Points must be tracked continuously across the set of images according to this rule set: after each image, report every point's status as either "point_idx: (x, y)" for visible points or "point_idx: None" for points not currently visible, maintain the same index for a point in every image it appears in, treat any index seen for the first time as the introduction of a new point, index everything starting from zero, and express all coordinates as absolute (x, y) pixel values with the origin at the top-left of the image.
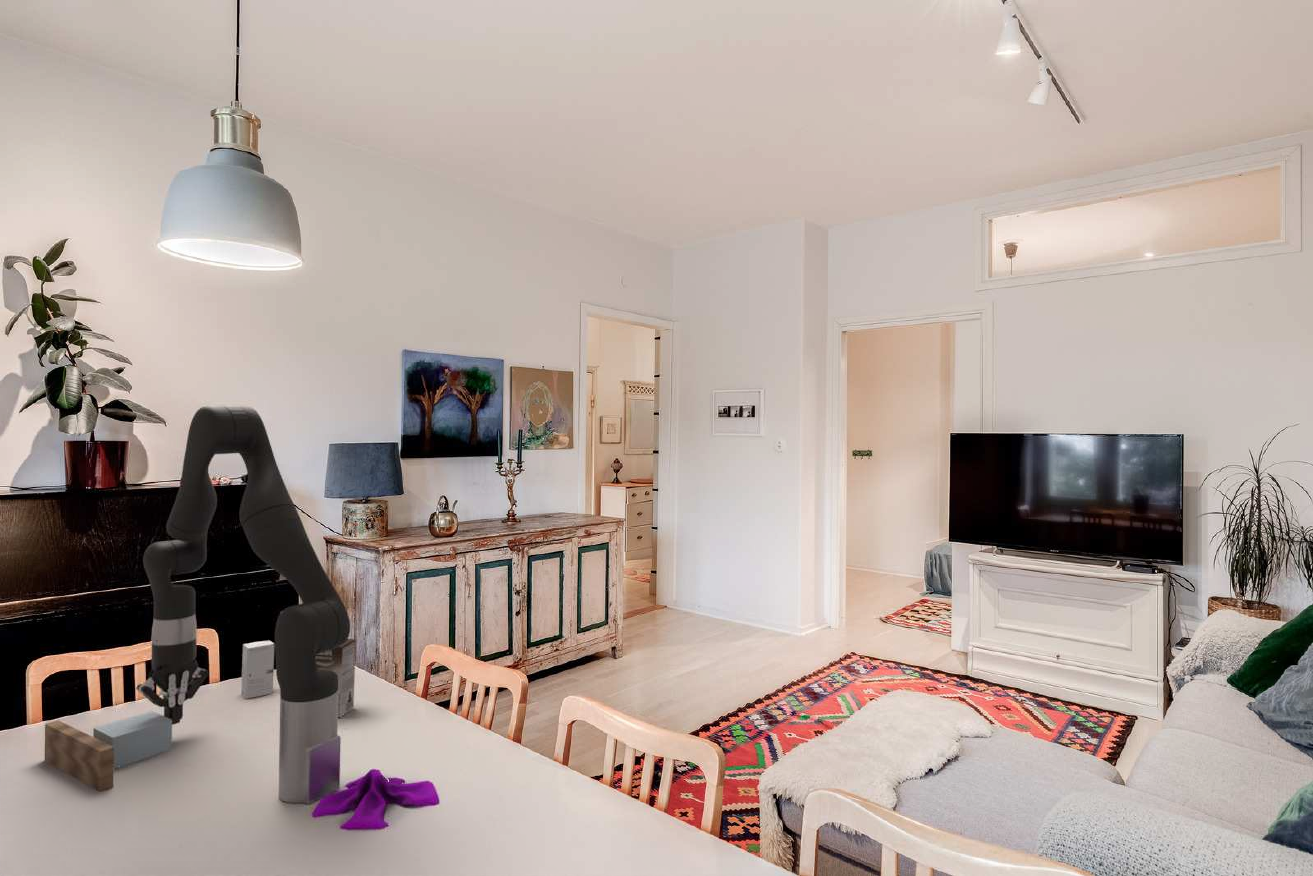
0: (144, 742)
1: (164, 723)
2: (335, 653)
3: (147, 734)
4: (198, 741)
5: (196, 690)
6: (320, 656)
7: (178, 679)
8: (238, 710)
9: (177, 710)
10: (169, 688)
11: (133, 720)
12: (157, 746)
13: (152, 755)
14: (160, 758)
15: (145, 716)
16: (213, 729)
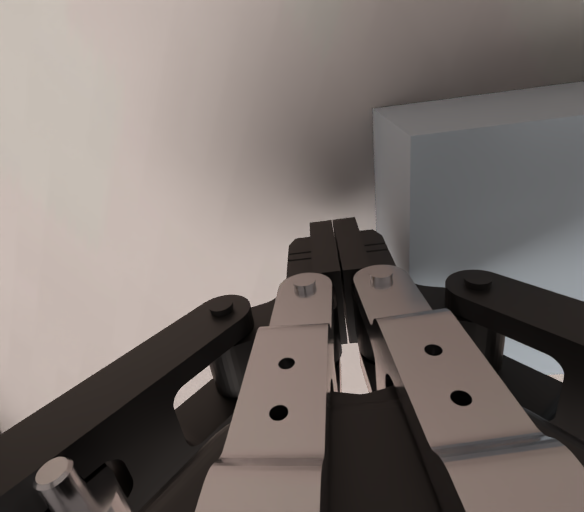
0: (554, 98)
1: (465, 125)
2: None
3: (565, 105)
4: (246, 108)
5: (159, 338)
6: None
7: (351, 498)
8: (28, 337)
9: (329, 254)
10: (489, 373)
11: None
12: (456, 102)
13: (466, 96)
14: (461, 18)
15: None
16: (153, 210)
